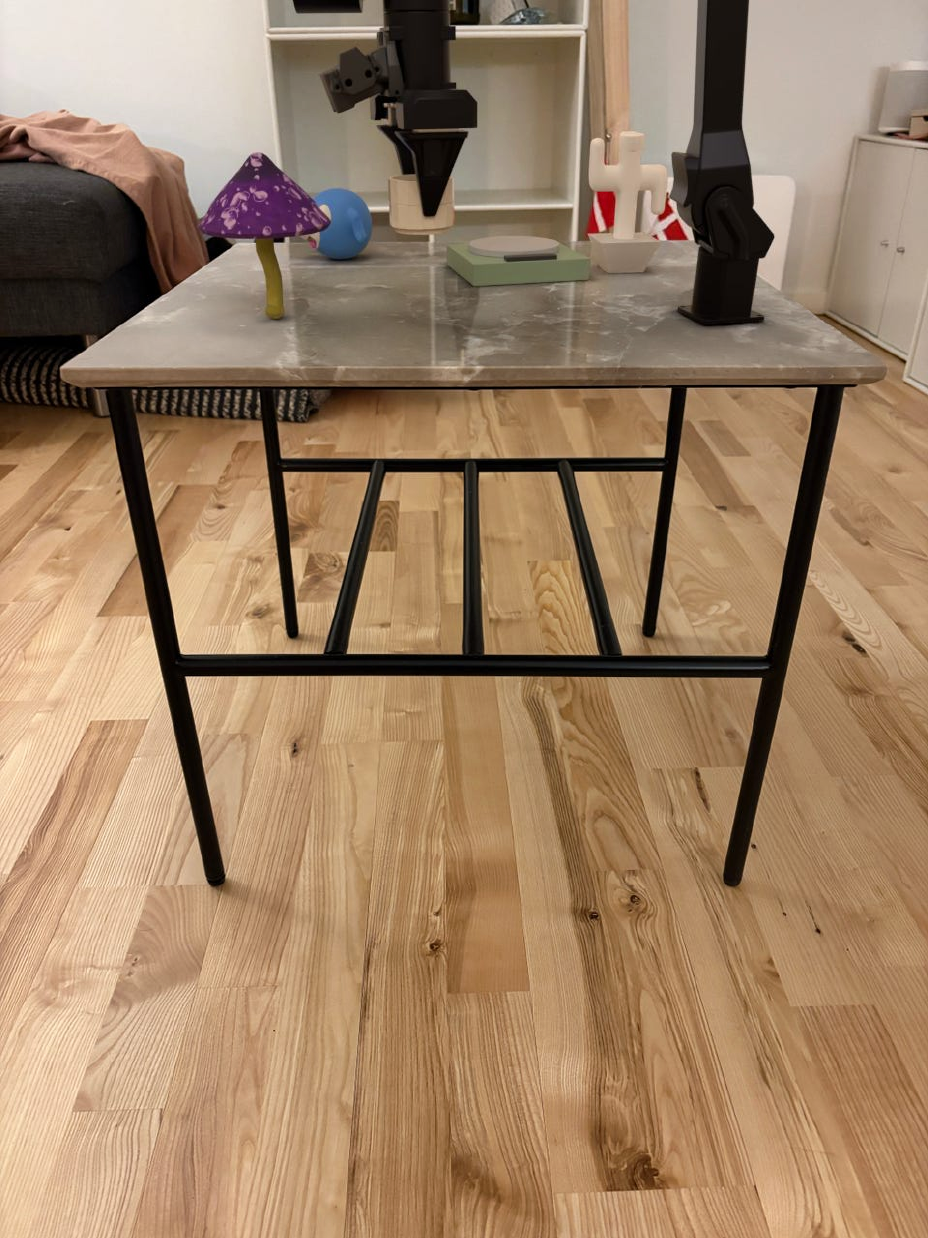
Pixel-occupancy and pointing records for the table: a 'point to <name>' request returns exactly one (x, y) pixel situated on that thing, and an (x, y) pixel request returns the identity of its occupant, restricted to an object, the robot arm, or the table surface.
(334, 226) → the blue mole toy
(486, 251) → the scale
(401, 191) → the beige wooden cup
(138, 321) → the table surface
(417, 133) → the robot arm
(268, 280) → the decorative mushroom
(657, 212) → the figurine
